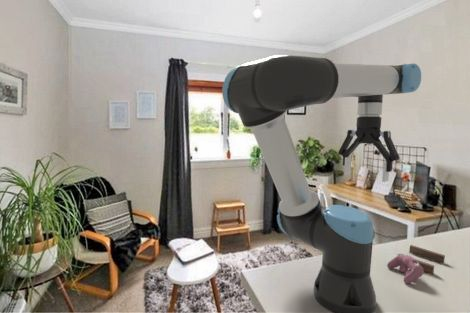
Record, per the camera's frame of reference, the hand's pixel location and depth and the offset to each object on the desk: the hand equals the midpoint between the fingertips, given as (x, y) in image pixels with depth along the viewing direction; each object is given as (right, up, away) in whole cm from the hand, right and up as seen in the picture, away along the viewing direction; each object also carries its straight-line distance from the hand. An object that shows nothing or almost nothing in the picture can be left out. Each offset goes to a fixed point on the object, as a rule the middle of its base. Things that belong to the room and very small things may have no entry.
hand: (365, 177), depth 98 cm
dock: (+16, -28, -4) cm, 32 cm away
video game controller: (+6, -29, -12) cm, 32 cm away
